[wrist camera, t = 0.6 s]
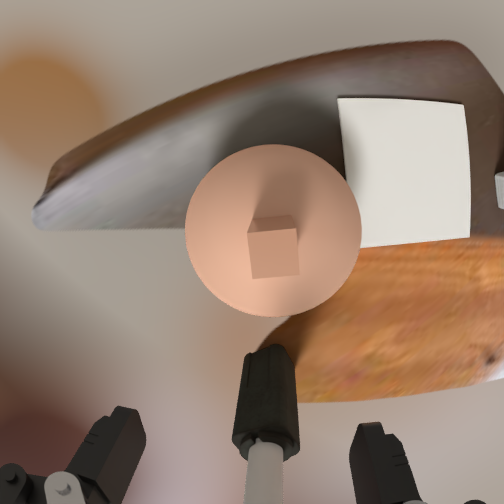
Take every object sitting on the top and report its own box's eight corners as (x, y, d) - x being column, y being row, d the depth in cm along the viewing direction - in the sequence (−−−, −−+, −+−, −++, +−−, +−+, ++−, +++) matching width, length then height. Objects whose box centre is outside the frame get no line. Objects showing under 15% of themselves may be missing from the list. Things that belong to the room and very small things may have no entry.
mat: (461, 105, 25) (463, 104, 25) (467, 236, 29) (469, 237, 29) (336, 99, 27) (337, 98, 26) (349, 247, 31) (350, 248, 30)
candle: (280, 341, 34) (280, 558, 10) (297, 372, 35) (309, 571, 11) (240, 355, 35) (204, 560, 11) (259, 385, 36) (242, 576, 12)
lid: (352, 139, 22) (376, 132, 17) (359, 304, 26) (378, 338, 20) (176, 157, 24) (149, 157, 18) (202, 317, 27) (186, 353, 22)
